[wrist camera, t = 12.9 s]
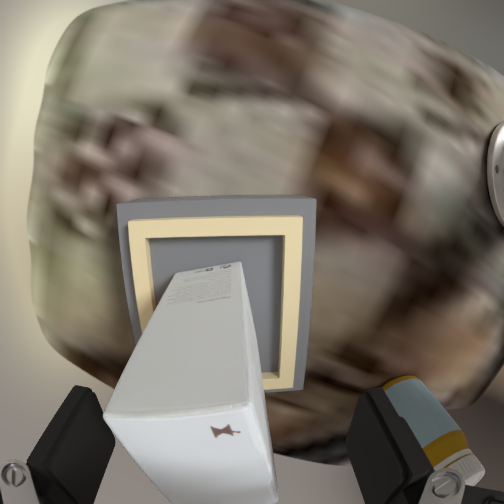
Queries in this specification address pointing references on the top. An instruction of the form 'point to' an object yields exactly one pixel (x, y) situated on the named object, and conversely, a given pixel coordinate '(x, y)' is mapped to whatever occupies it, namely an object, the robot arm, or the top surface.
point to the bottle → (433, 427)
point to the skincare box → (198, 395)
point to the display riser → (229, 251)
